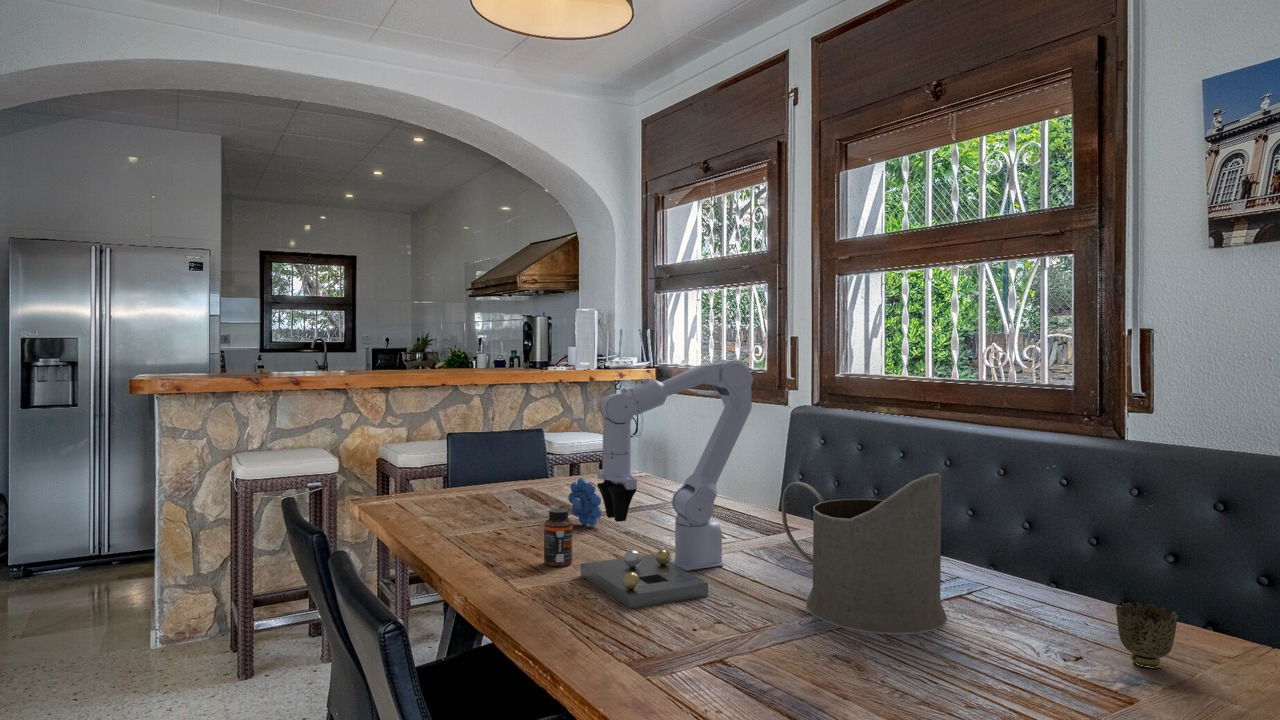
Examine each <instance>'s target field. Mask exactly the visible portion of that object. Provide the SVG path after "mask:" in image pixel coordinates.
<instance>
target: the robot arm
mask: <svg viewBox="0 0 1280 720" xmlns="http://www.w3.org/2000/svg"><path fill="white" fill-rule="evenodd" d="M753 382H754V377H753V375H752V373H751V370H750V369H749V367H748V365H747V364H746V363H745V362H743V361H741V360H740V359H732V360H726V359H717V360H714V361H712V362H711V361H710V362H707V363H704V364H699V365H697V366H695V367H693V368H690V369H688V370H686V371H684V372H681V373H679V374H677V375H674V376H672V377H671V378H668V379H665V380H663V381H662V382H661V381H658V379H654V378H652V379H649V378H644V379H642V380H641V383H639V384H637V385H634V386H632V387H629V388H626V387H623V388H620V393H611V394H608V395H607V396H605V397H604V399H603V400H602V401H601V404H600V406H599V412H600V414H601V416H602V417H603V421H602V423H603V430H602V469H598V470H597V479H599V480H603V482H599V483H597V484H596V486H597V489H598V491H599V492H600V494H601V497H602V501H603V504H604V510H605V514H606V517H607V518H608V519H611V518H612V519H613V518H614V522H616V523H618V522H625V521H626V520H627V517H628V512H629V509H630V505H631V502H632V500H633V497H634V495H635V494H636V493H637V489H638V488H637V487H638V484H637V483H638V478H635V477H634V476H633V474H632V472H631V469H632V468H631V466H632V465H631V464H632V463H631V462H632V461H631V460H632V459H631V457H632V456H631V455H632V454H631V453H632V451H631V449H632V444H631V443H632V441H631V440H632V439H631V438H632V437H631V436H632V433H631V432H632V431H631V420H632V419H633V417H634V416H638V415H641V414H643V413H646V412H649V411H650V410H653V409H655V408H658V407H661V406H663V405H664V404H665V402H666V400H667V398H668V397H669V396H672V395H675V394H677V393H680V392H682V391H686V390H688V389H691V388H695V387H696V386H700V385H711V386H712V387H713V388H714V389H715V390H716V392H717V393H718V394H719V396H720V398H721V402H722V404H723V406H724V408H723V410H722V413H721V414H720V417H719V419H718V421H717V423H716V424H715V426H714V429H713V430H712V433H711V435H710V437H709V439H708V442H707V443H706V445H705V448H704V450H703V451H702V454H701V456H700V458H699V461H698V462H697V465H696V467H695V468H694V470H693V472H692V474H691V475H689V476H688V477H687V478H686V479H685V481H684V483H683V485H681V487H680V488H678V489H677V490H676V491H675V492H674V494H673V496H672V499H671V504H672V508H673V510H674V512H675V513H676V516H675V521H674V522H675V529H674V530H675V532H674V541H675V542H674V558H671V560H670V562H669V563H670V564H672V565H674V566H676V567H678V568H680V569H682V570H684V571H686V572H688V571H694V570H695V571H696V570H700V569H701V570H702V569H706V568H707V569H708V568H716V567H721V566H724V562H723V560H722V559H723V550H722V549H723V533H722V530H721V527H720V525H719V523H718V522H717V521H716V520H712V519H711V518H712V516H713V514H714V511H715V510H714V507H715V506H714V505H715V501H716V498H717V495H718V494H717V482H718V481H719V478H720V477H721V474H722V472H723V470H724V468H725V466H726V464H727V462H728V459H729V457H730V455H731V453H732V452H733V449H734V447H735V445H736V443H737V440H738V439H739V437H740V435H741V432H742V430H743V428H744V426H745V423H746V422H747V420H748V417H749V415H750V413H751V411H752V407H753V405H752V403H753V402H752V401H753V400H752V384H753Z"/></svg>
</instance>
